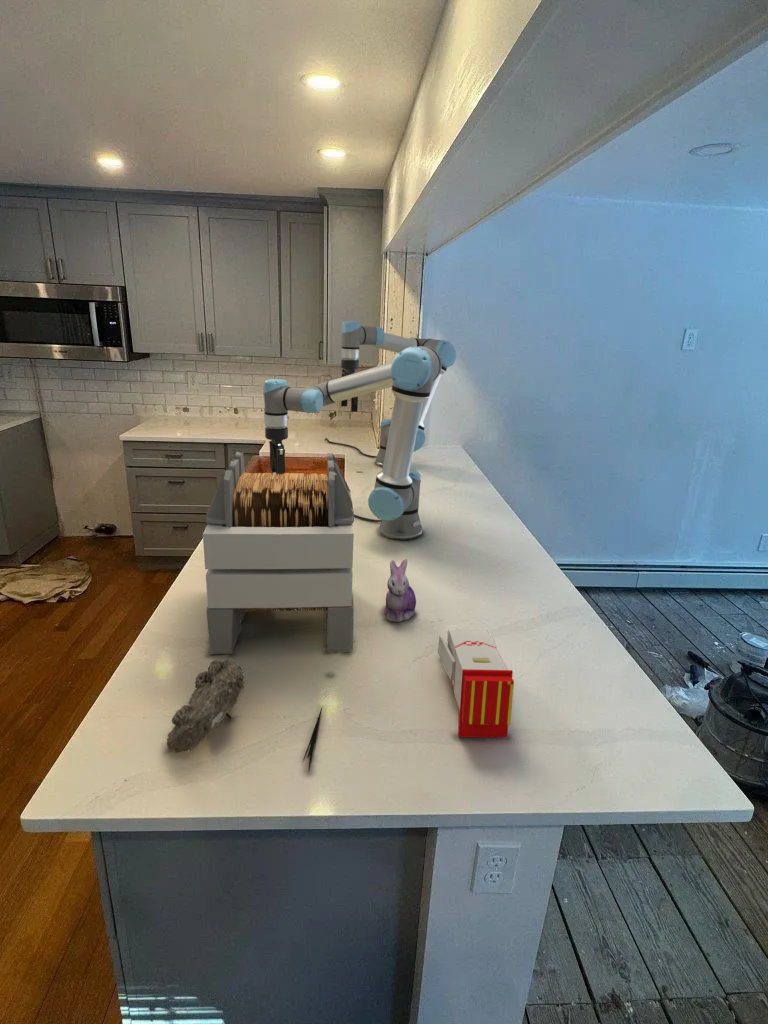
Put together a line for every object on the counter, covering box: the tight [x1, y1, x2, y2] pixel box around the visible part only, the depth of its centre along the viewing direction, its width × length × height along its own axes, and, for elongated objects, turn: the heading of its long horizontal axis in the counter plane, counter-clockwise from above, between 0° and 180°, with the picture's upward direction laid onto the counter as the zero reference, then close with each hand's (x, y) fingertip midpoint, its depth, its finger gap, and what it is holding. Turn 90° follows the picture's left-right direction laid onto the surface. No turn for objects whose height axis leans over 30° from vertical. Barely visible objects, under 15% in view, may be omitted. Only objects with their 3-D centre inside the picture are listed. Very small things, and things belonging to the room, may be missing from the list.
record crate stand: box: [202, 451, 355, 655], centre depth 137 cm, size 34×33×41 cm
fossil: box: [166, 658, 245, 754], centre depth 106 cm, size 22×10×15 cm
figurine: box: [384, 558, 417, 623], centre depth 145 cm, size 9×10×15 cm
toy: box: [437, 628, 515, 738], centre depth 117 cm, size 12×13×30 cm
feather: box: [301, 673, 332, 771], centre depth 108 cm, size 2×28×2 cm
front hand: (277, 492), depth 197 cm, fingers closed on pill bottle, 5 cm apart
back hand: (349, 408), depth 250 cm, fingers open, 13 cm apart
